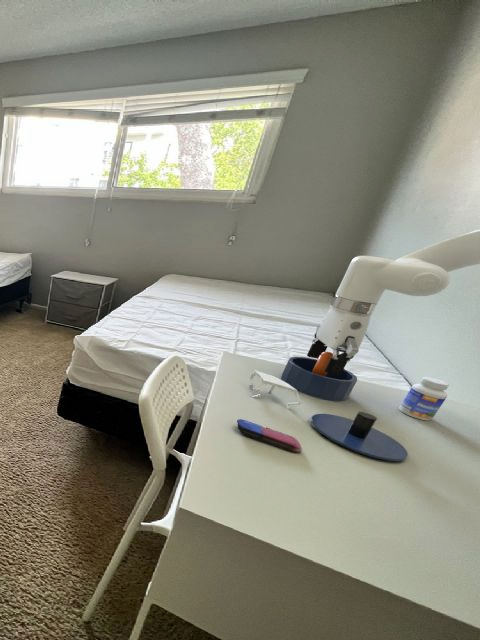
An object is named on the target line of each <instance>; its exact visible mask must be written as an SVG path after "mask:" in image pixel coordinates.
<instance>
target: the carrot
mask: <svg viewBox="0 0 480 640" xmlns="http://www.w3.org/2000/svg"><path fill="white" fill-rule="evenodd" d="M330 358H333V352H331V351H325V352H323V353H321V354H320V356H319V358H318V359H317V360H318V361H317V363H316V365H315V367H314V369H313V371H312V373H315V374H318V375H321V376H325V377H326V375H327V373H328V372H325V371H324V370H325V368H326V366H327V364H328V362H329V360H330Z"/></svg>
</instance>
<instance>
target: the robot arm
mask: <svg viewBox="0 0 480 640" xmlns="http://www.w3.org/2000/svg"><path fill="white" fill-rule="evenodd" d="M476 265H480V228H479V229H476V230H472V231H470V232H466V233H464V234H461V235H457V236H454V237H451V238H447V239H444V240H441V241H438V242H436V243H433V244H430V245H428V246H425V247H422V248H421V249H417V250H415V251H413V252H411V253H408V254H406V255H404V256H401V257H399V258H396V259H395V260H393V259H391V258H386V257H379V256H373V255H357V256H355V257H354V258H353V259H352V260H351V261H350V263H349V265H348V267H347V269H346V271H345V274H344V276H343V278H342V280H341V281H340V284H339V287H337V290H336V293H335V294H334V296H333V298H332V301H331V303H330V305H329V309H328V311H327V313H326V314H325V316H324V318H323V319H322V321H321V322H320V325H317V326H316V330H315V333H314V338H313V339H312V341H311V343H312V344H311V345H310V348H309V349H308V352H307V354H306V356H307V358H311V359H316V360H318V358H319V356H320V354H321V353H323V352H327V349H328V348H330V349H331V350H332V353H333V358H330V360H329V362H328V364H327V366H326V368H325V370H324V371H325V372H328V373H333V374H338V375H340V374H341V373H342V371H343V369H345V368H346V365H347V364H348V363H349V362H350V361H351V360H353V359H354V357H355V356H356V354H358V353H359V349H360V347H361V345H362V342H363V340H364V338H365V336H366V333H367V331H368V328H369V325H370V321H371V317H372V314H373V313H374V311H375V309H376V307H377V306H378V303H379V301H380V300H381V297H382V296H383V293H384V292H385V291H386V290H387V291H391V292H396V293H399V294H403V295H407V296H412V297H428V296H429V297H430V296H434V295H436V294H439V293H441V292H443V290H445V289H447V288H448V286H449V285H450V282H451V277H450V274H449V273H450V272H453V271H456V270H461V269H463V268H466V267H467V268H468V267H472V266H476Z"/></svg>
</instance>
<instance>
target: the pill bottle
mask: <svg viewBox="0 0 480 640" xmlns="http://www.w3.org/2000/svg"><path fill="white" fill-rule="evenodd" d="M449 386H450V384H449V383H448V382H447V381H444V380H441V379H438V378H435V377H430V376H423V377H422V378H421V379H420V383H415V384H413V385H412V386H411V387H410V389H409V391H408V392H407V394H406V396H405V397H404V398H403V400H402V402H401V404H400V405H399V408H398V409H399V411H400V412H401V413H404V414H405V415H407V416H409V417H412V418H415V419H418V420H422V421H432V420H433V419H434V418H435V416H436V414H437V413H438V411H439V410H440V408H441V407H442V406H443V404H444V402H445V401H446V399H447V398H448V393H447V392H446V390H447V389H448V388H449Z"/></svg>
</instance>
